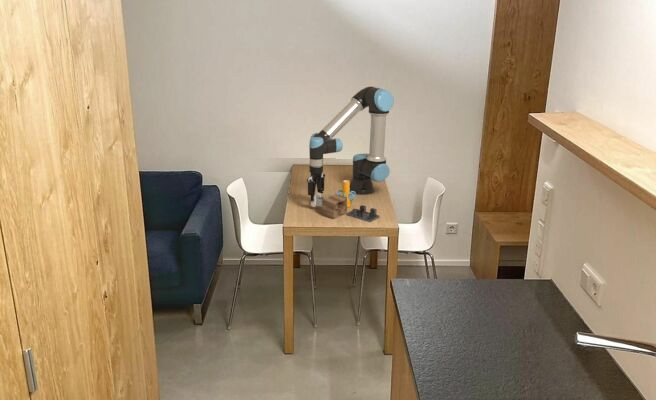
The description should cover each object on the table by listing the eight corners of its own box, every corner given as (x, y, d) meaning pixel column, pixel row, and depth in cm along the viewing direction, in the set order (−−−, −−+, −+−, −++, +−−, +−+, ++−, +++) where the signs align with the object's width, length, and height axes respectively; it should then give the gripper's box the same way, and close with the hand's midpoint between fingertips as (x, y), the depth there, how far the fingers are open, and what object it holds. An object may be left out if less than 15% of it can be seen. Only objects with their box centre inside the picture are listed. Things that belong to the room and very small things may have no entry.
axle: (317, 202, 349) (317, 195, 347) (338, 207, 340) (338, 200, 339) (312, 204, 346) (312, 197, 344) (333, 209, 337) (333, 202, 335)
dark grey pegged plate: (355, 210, 346) (356, 203, 344) (379, 217, 337) (379, 210, 335) (346, 215, 339) (346, 207, 338) (369, 222, 330) (370, 214, 328)
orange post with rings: (353, 210, 346) (353, 185, 341) (334, 208, 348) (335, 183, 343) (356, 203, 358) (357, 178, 353) (338, 201, 360) (339, 177, 355)
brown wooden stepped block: (335, 209, 347) (335, 194, 343) (346, 213, 342) (347, 197, 339) (322, 215, 338) (322, 199, 335) (333, 219, 333) (333, 203, 330)
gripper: (320, 160, 348) (320, 199, 356) (300, 167, 335) (301, 207, 343) (331, 163, 343) (330, 202, 351) (311, 170, 330) (311, 210, 338)
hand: (316, 205), depth 347 cm, fingers closed on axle, 4 cm apart
